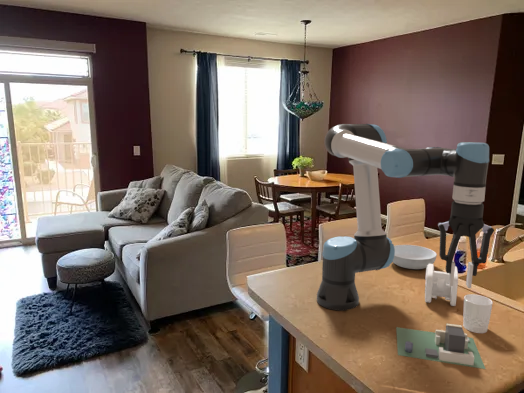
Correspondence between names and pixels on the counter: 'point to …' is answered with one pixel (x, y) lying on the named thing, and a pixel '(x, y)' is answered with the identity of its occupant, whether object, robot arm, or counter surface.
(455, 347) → the plug
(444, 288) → the cable organizer
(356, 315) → the counter surface
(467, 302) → the white cup
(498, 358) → the counter surface
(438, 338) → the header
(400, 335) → the board
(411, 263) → the serving bowl
